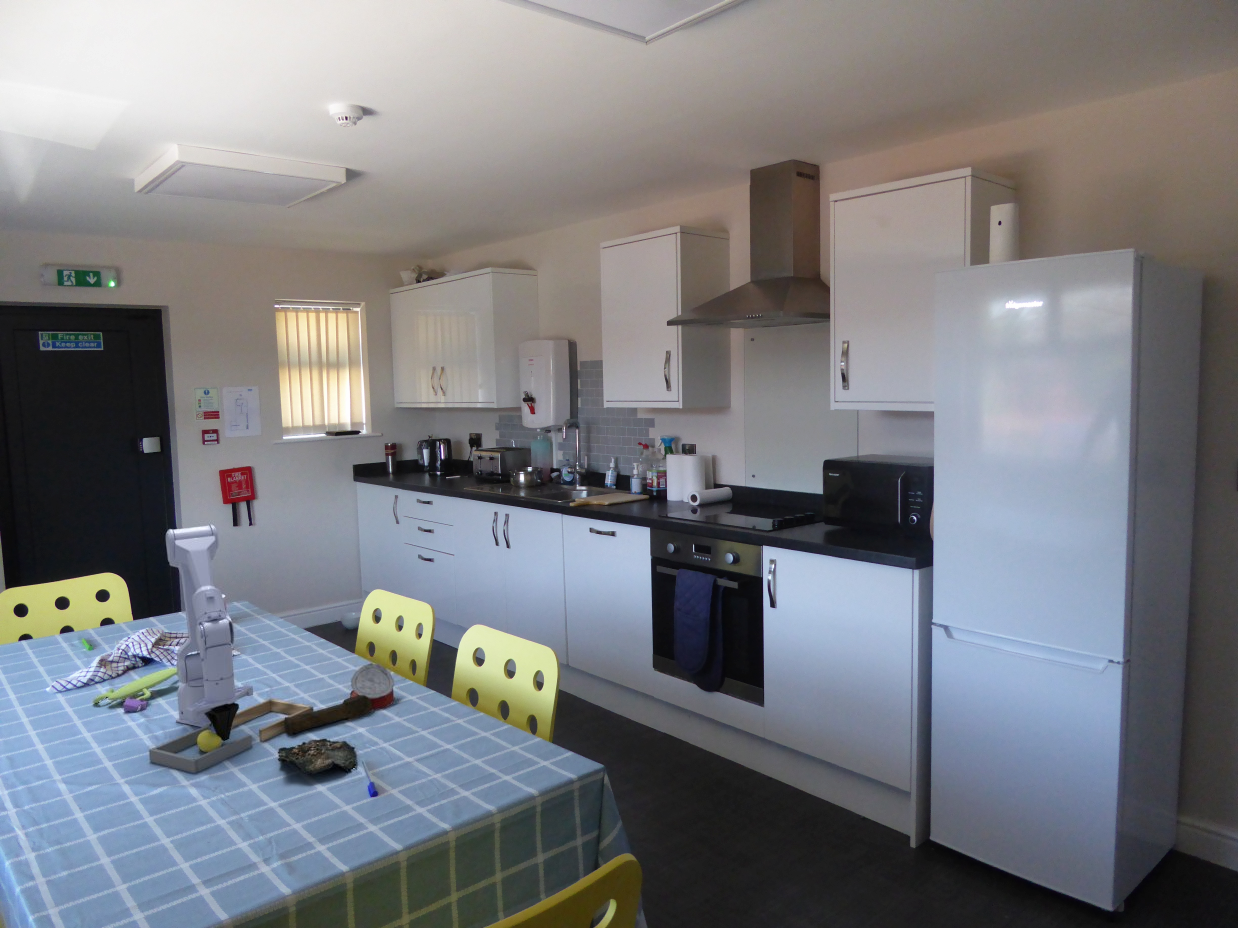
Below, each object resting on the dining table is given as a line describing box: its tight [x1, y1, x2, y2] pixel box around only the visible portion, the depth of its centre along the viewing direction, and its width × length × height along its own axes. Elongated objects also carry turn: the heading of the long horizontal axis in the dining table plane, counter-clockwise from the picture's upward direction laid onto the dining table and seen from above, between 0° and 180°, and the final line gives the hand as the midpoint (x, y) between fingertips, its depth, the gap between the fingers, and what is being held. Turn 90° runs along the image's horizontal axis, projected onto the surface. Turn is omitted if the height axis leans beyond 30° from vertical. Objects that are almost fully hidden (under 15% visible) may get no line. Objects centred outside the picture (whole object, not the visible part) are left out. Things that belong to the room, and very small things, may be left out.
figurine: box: [92, 666, 178, 712], centre depth 205 cm, size 18×27×6 cm
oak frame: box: [231, 698, 315, 742], centre depth 183 cm, size 14×14×2 cm
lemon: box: [196, 729, 223, 753], centre depth 171 cm, size 4×8×4 cm, turn 41°
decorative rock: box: [277, 738, 357, 775], centre depth 164 cm, size 19×6×15 cm
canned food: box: [349, 662, 395, 711], centre depth 194 cm, size 11×10×10 cm
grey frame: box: [148, 725, 253, 774], centre depth 169 cm, size 14×13×2 cm
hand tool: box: [284, 695, 373, 737], centre depth 183 cm, size 19×4×5 cm, turn 125°
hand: (223, 739), depth 174 cm, fingers closed
